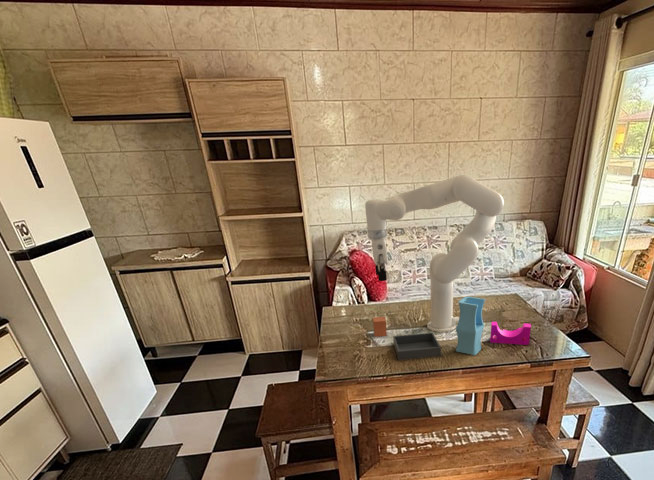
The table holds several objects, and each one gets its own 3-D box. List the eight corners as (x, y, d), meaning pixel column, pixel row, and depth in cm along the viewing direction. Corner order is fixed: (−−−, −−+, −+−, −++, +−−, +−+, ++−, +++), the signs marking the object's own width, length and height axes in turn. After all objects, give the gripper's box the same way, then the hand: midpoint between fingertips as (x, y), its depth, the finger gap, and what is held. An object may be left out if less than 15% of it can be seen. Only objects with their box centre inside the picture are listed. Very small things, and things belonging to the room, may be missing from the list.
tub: (432, 341, 166) (432, 332, 164) (440, 356, 154) (440, 347, 152) (393, 345, 164) (393, 336, 163) (398, 360, 152) (398, 351, 150)
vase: (474, 356, 153) (477, 305, 143) (455, 351, 157) (456, 302, 147) (482, 348, 159) (485, 299, 149) (464, 344, 163) (465, 295, 153)
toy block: (528, 338, 165) (530, 321, 162) (528, 345, 160) (531, 327, 156) (490, 336, 169) (492, 319, 165) (490, 342, 163) (491, 325, 160)
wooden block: (385, 331, 177) (384, 316, 173) (386, 336, 172) (385, 320, 169) (374, 332, 176) (372, 317, 173) (375, 337, 172) (373, 322, 168)
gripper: (390, 237, 151) (393, 282, 160) (384, 229, 166) (387, 271, 175) (370, 239, 150) (374, 284, 159) (365, 231, 165) (370, 273, 174)
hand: (381, 277), depth 167 cm, fingers open, 9 cm apart
